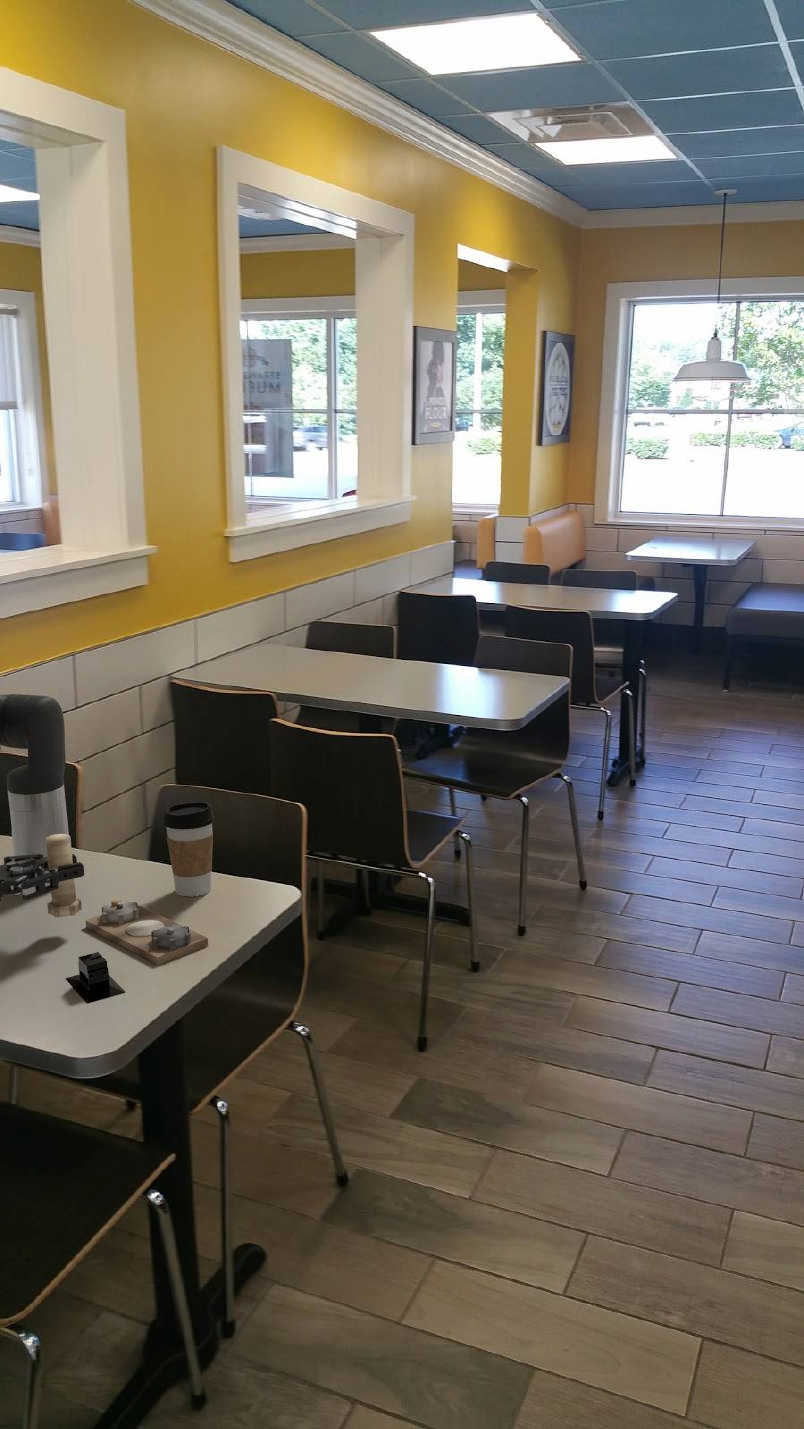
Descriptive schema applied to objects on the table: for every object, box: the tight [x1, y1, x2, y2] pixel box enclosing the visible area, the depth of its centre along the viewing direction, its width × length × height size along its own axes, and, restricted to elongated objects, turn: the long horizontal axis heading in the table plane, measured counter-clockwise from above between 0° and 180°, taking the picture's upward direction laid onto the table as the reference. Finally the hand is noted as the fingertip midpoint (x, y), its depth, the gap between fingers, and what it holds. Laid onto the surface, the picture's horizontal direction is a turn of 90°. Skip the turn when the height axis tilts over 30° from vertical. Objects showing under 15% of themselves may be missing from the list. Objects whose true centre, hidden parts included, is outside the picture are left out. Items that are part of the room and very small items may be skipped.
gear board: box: [85, 900, 209, 966], centre depth 176 cm, size 20×9×3 cm, turn 45°
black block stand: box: [64, 951, 126, 1004], centre depth 160 cm, size 12×7×5 cm, turn 34°
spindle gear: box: [46, 834, 83, 919], centre depth 176 cm, size 5×5×12 cm
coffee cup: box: [162, 801, 215, 898], centre depth 193 cm, size 8×8×15 cm
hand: (79, 864), depth 177 cm, fingers closed on spindle gear, 3 cm apart
